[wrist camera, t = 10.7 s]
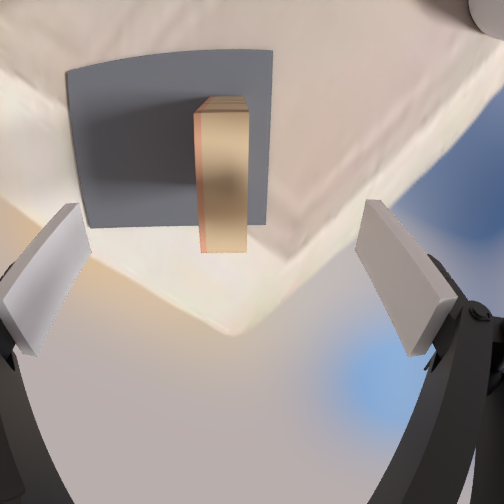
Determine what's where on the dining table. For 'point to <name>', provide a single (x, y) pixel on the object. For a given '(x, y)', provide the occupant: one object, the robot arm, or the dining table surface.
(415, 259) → the robot arm
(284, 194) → the dining table surface
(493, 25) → the cup
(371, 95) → the dining table surface
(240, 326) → the dining table surface
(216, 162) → the tan block
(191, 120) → the slate mat
